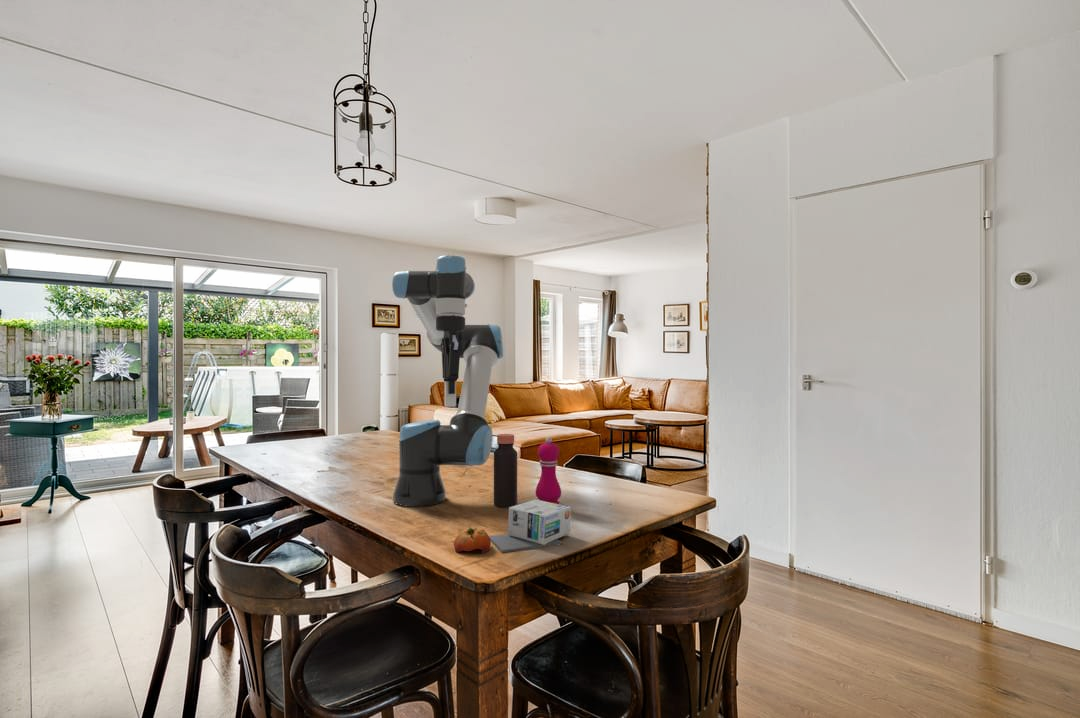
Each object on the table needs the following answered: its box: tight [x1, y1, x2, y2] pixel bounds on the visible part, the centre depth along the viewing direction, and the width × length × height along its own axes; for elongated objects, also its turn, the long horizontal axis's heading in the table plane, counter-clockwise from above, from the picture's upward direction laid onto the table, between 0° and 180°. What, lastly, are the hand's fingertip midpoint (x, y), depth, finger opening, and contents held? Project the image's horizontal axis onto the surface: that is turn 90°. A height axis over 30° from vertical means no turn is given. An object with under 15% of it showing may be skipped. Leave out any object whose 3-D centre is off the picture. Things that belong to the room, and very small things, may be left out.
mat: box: [488, 533, 562, 553], centre depth 122 cm, size 10×14×1 cm
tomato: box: [453, 526, 492, 554], centre depth 117 cm, size 8×7×7 cm
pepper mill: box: [535, 436, 562, 505], centre depth 149 cm, size 7×7×20 cm
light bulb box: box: [507, 498, 572, 545], centre depth 125 cm, size 11×7×11 cm
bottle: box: [493, 433, 518, 508], centre depth 153 cm, size 7×7×20 cm
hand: (450, 406), depth 139 cm, fingers closed
